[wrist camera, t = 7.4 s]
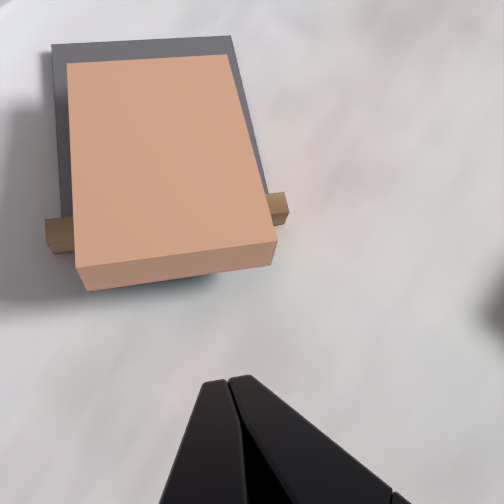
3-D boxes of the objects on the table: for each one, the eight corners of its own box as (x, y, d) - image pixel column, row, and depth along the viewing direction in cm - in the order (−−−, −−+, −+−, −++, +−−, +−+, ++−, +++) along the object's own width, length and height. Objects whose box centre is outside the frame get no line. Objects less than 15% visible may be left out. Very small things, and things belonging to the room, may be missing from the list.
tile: (277, 240, 17) (226, 54, 22) (75, 268, 16) (66, 63, 21) (269, 268, 19) (224, 91, 24) (88, 294, 18) (77, 102, 22)
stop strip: (284, 224, 22) (289, 211, 21) (54, 253, 20) (46, 241, 19) (279, 204, 22) (284, 192, 21) (52, 232, 20) (45, 219, 19)
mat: (268, 206, 22) (270, 201, 22) (64, 231, 20) (61, 225, 20) (230, 43, 26) (230, 35, 25) (54, 52, 24) (51, 44, 24)
